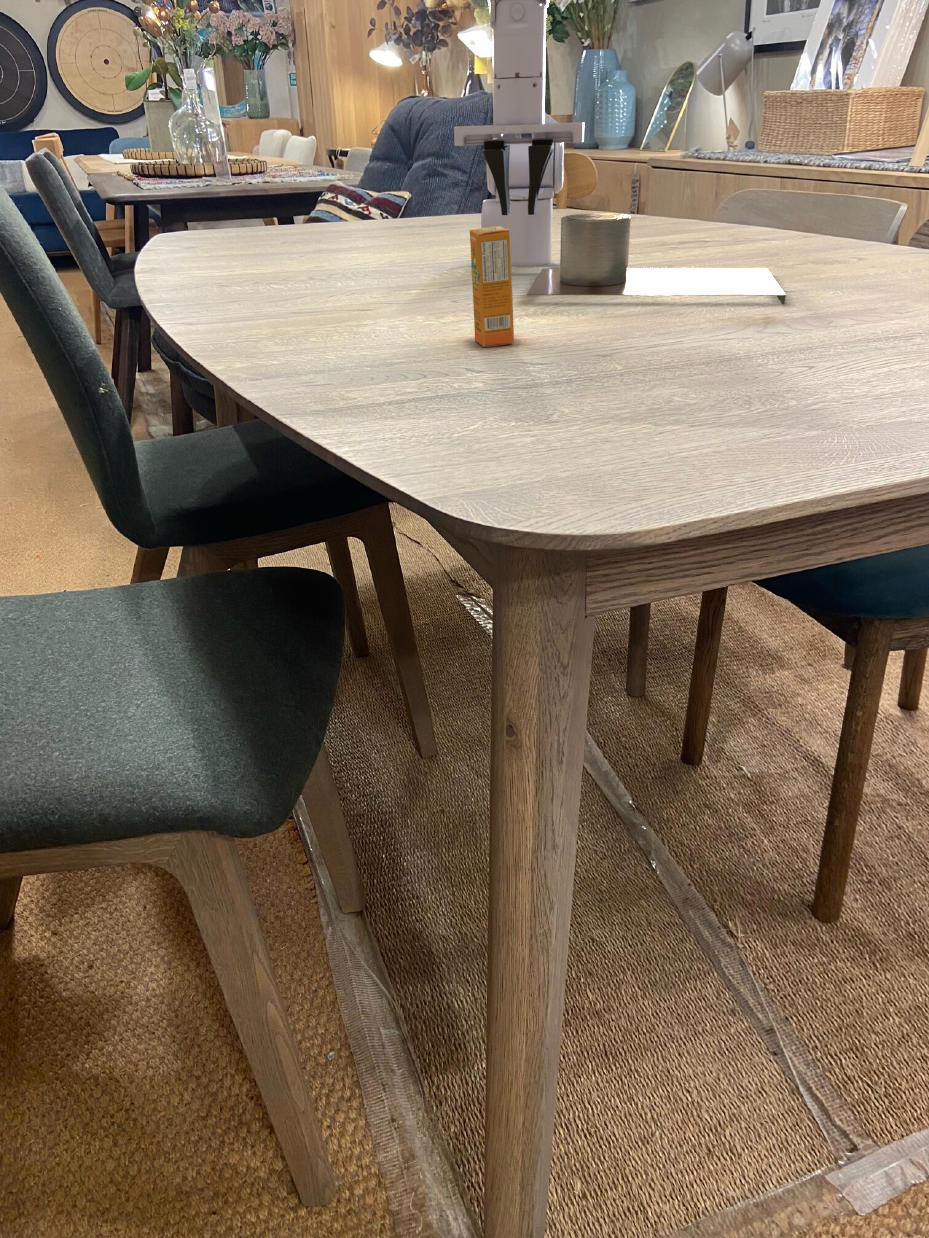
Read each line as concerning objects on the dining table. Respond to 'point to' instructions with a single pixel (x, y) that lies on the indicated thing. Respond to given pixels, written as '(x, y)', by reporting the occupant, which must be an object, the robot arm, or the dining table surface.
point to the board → (680, 280)
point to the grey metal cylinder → (594, 249)
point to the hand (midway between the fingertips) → (518, 214)
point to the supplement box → (492, 286)
